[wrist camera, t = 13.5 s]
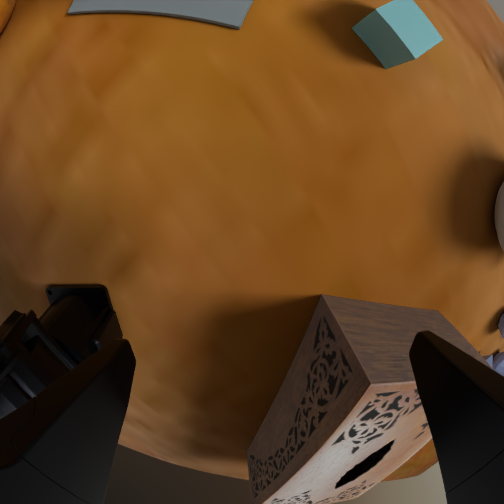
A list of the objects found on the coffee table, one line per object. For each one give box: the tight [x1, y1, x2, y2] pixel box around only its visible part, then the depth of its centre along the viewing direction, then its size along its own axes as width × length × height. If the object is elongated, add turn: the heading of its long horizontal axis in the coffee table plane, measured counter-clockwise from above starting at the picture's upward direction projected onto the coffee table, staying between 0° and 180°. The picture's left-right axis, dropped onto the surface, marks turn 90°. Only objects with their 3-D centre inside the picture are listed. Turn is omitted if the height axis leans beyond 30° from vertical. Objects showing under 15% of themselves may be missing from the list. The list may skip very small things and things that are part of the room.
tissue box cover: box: [247, 294, 492, 504], centre depth 23 cm, size 26×14×10 cm, turn 166°
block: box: [352, 0, 443, 69], centre depth 12 cm, size 4×4×4 cm
